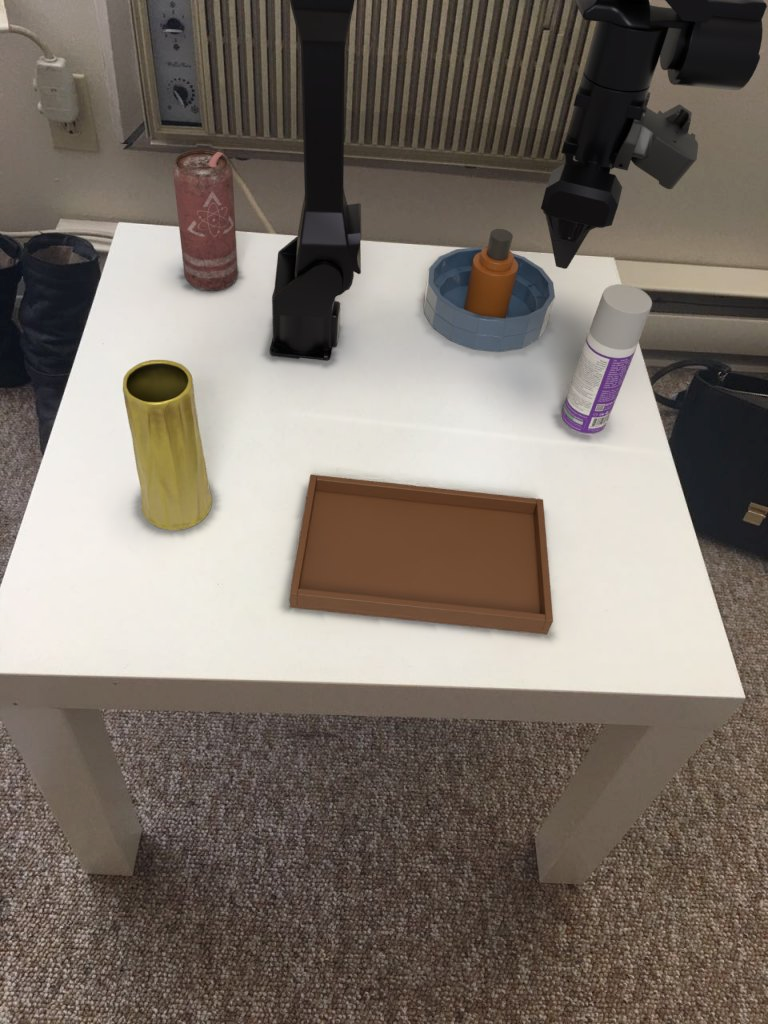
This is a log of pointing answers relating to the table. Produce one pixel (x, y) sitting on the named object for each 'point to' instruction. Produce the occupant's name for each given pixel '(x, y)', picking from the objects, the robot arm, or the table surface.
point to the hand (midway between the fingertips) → (568, 243)
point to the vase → (167, 444)
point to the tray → (423, 555)
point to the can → (206, 219)
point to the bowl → (482, 331)
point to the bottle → (492, 277)
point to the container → (605, 358)
